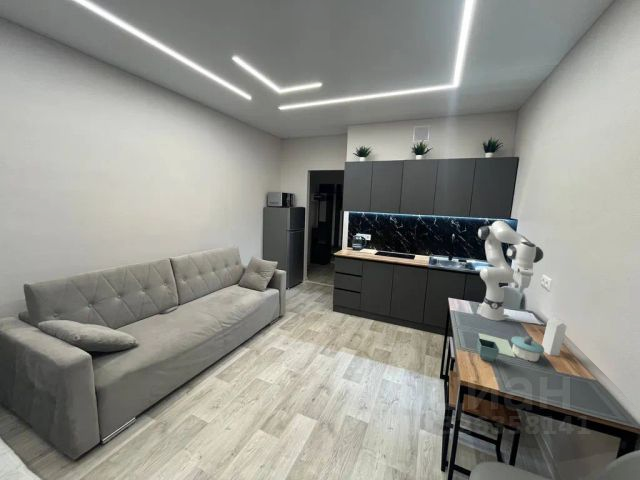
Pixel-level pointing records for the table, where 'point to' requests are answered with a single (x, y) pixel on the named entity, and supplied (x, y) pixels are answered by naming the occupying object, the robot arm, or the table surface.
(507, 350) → the mat
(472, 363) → the table surface
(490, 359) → the flower pot
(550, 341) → the milk
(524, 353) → the bowl
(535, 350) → the lid
